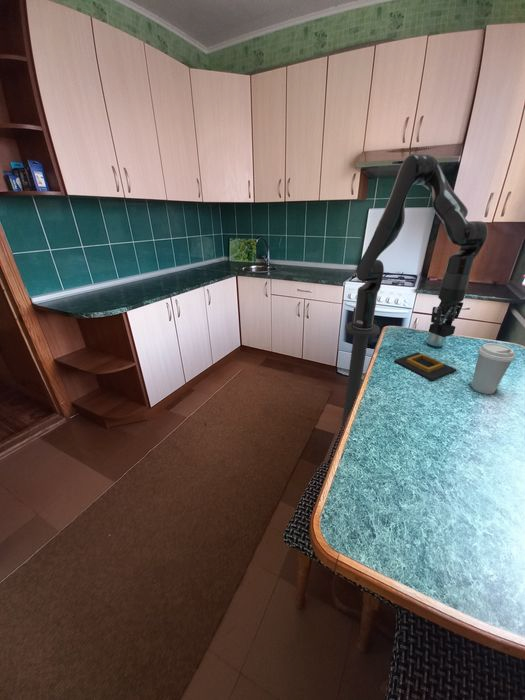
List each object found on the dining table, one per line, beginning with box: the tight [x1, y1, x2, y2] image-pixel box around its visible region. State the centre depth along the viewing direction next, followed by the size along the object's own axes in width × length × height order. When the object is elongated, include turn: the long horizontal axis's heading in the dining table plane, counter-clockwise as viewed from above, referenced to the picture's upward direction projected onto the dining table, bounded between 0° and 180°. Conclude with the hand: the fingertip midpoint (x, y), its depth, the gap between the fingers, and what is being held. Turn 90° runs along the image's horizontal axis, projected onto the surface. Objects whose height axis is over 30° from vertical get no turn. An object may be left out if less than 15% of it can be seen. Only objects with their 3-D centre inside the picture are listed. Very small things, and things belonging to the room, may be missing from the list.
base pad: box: [393, 352, 457, 382], centre depth 110 cm, size 16×14×2 cm
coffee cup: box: [470, 342, 516, 395], centre depth 94 cm, size 10×10×15 cm
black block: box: [428, 323, 456, 338], centre depth 105 cm, size 6×6×3 cm
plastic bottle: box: [427, 314, 447, 348], centre depth 123 cm, size 6×7×20 cm
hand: (441, 331), depth 105 cm, fingers closed on black block, 5 cm apart
